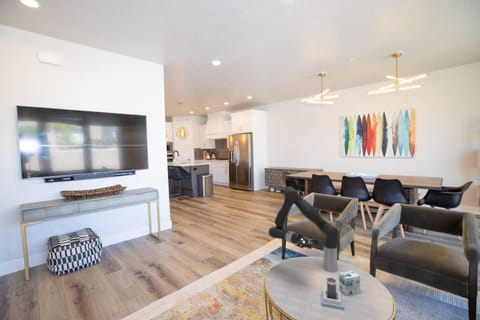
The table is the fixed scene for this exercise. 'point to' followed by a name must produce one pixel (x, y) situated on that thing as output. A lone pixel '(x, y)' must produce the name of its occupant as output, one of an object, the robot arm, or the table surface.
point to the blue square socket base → (332, 300)
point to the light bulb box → (349, 282)
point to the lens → (331, 288)
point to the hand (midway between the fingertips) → (315, 245)
